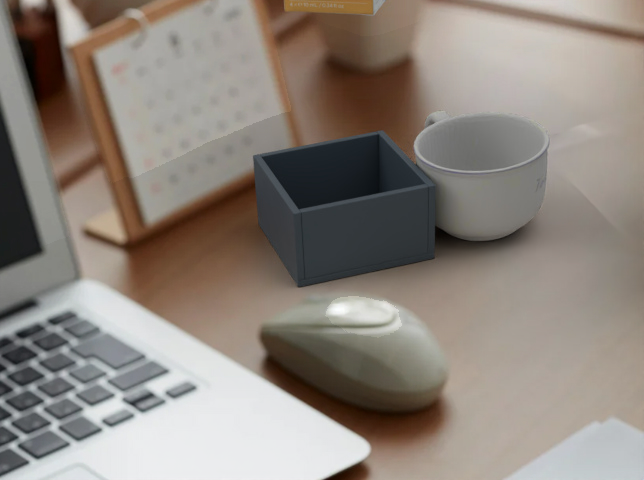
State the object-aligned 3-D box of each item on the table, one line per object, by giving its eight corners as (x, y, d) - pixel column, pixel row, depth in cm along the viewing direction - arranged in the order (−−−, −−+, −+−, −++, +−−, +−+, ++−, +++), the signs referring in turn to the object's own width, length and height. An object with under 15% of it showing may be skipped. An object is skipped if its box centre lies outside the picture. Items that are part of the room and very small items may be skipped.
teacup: (563, 244, 98) (571, 153, 93) (435, 264, 97) (436, 174, 92) (503, 173, 109) (508, 89, 105) (388, 191, 108) (387, 107, 104)
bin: (383, 198, 107) (382, 129, 103) (434, 258, 98) (435, 185, 94) (258, 224, 105) (252, 154, 102) (298, 287, 96) (293, 213, 92)
